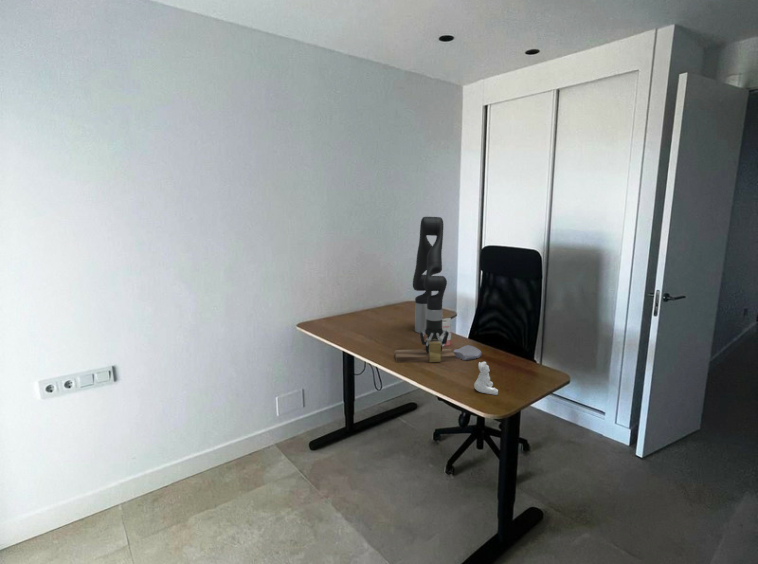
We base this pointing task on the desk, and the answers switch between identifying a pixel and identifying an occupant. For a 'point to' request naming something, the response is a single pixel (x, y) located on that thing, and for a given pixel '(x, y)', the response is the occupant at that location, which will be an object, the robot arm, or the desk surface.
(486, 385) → the seated beast figurine
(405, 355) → the board
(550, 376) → the desk surface
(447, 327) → the ink cartridge box
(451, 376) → the desk surface
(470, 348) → the stone block
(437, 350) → the wooden mallet
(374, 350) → the desk surface
